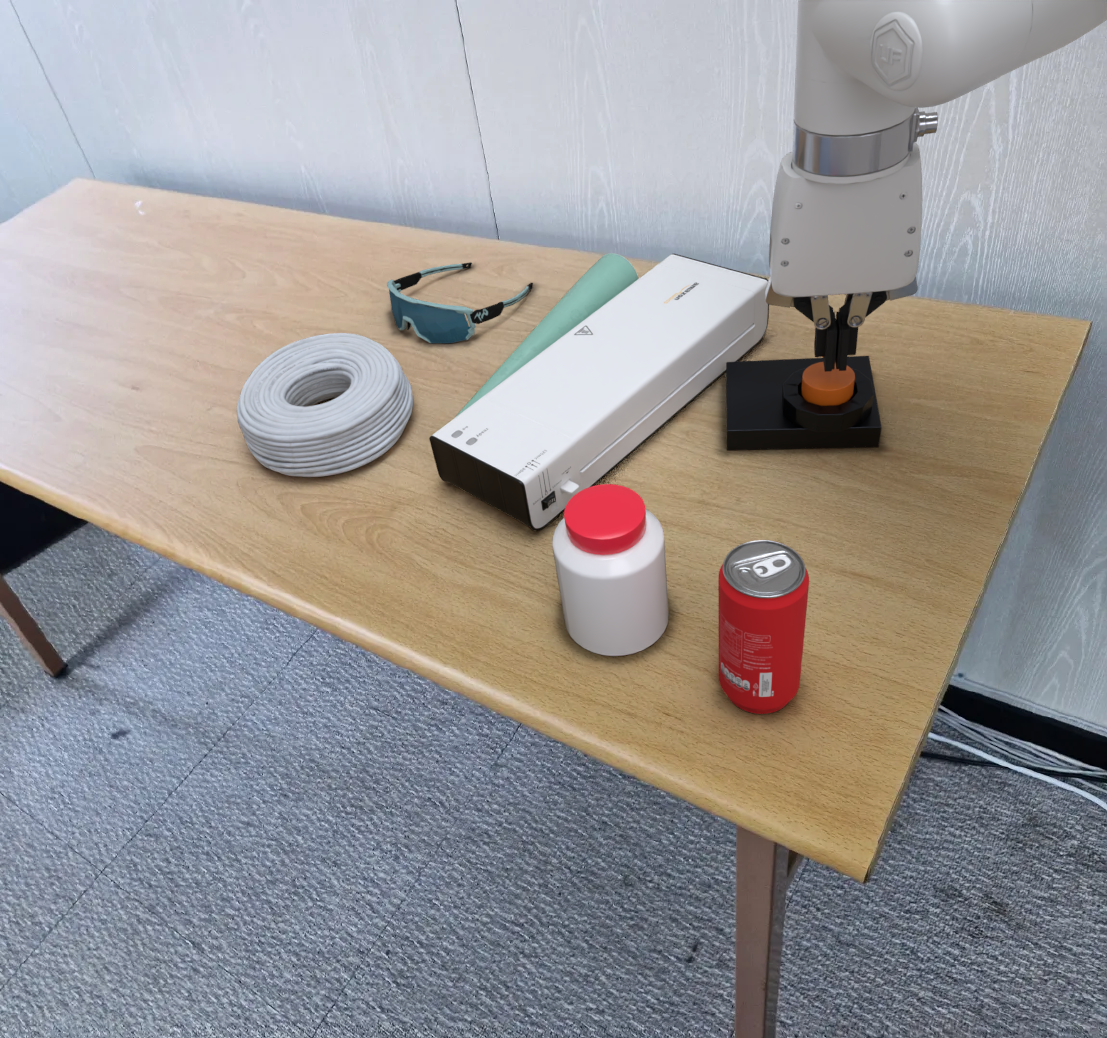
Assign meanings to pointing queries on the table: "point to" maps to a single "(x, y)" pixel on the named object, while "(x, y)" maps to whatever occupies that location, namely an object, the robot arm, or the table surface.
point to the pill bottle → (611, 571)
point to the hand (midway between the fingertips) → (833, 361)
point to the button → (827, 385)
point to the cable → (324, 405)
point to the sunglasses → (440, 310)
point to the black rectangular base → (796, 408)
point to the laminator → (602, 388)
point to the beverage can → (761, 625)
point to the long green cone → (567, 314)
